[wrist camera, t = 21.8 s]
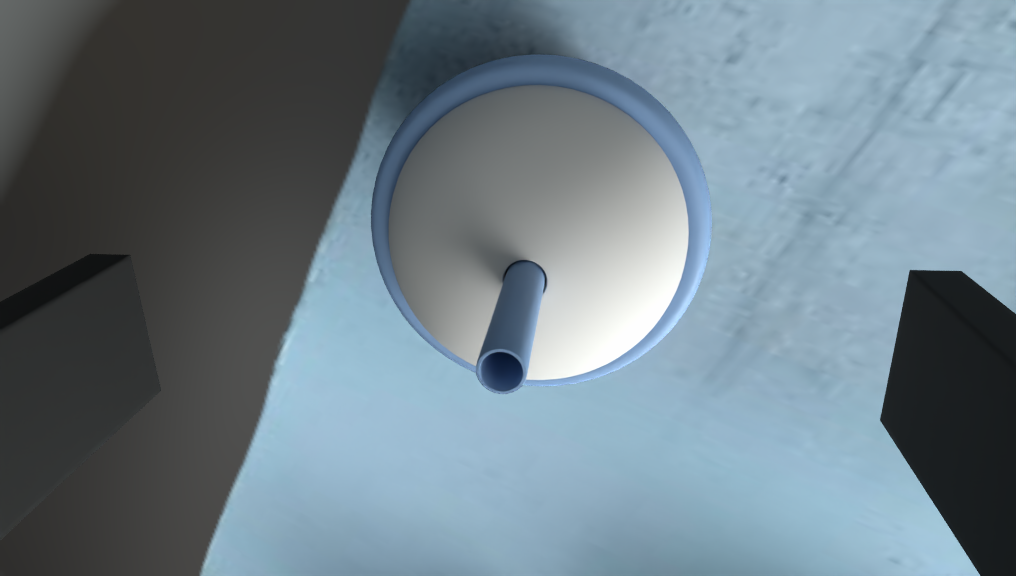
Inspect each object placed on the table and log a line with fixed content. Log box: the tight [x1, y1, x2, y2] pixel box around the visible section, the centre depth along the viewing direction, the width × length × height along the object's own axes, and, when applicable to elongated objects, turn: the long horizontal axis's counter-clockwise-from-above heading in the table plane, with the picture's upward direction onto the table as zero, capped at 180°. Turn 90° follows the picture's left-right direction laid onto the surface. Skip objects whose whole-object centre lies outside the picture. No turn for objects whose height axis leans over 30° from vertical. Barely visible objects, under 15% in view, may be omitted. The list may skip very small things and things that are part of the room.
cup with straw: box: [371, 54, 712, 394], centre depth 21 cm, size 9×9×18 cm
